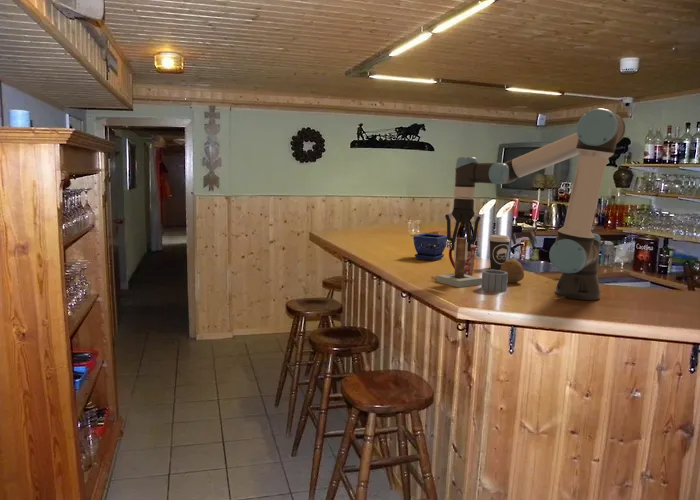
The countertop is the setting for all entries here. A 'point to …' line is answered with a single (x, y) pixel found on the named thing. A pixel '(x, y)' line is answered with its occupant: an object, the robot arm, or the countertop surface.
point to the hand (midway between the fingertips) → (460, 259)
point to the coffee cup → (498, 250)
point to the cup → (494, 280)
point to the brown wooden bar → (460, 258)
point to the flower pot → (430, 246)
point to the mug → (469, 262)
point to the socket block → (459, 280)
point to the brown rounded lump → (513, 270)
